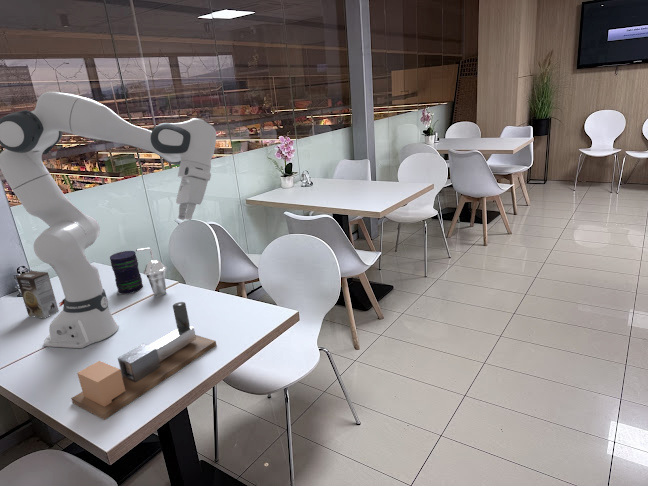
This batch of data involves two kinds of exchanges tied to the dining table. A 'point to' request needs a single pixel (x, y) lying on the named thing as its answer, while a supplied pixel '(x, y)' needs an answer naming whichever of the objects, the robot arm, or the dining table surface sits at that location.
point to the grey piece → (174, 335)
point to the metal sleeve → (139, 362)
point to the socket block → (101, 383)
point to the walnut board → (147, 379)
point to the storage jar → (126, 272)
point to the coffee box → (37, 293)
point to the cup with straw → (155, 275)
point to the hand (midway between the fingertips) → (184, 219)
